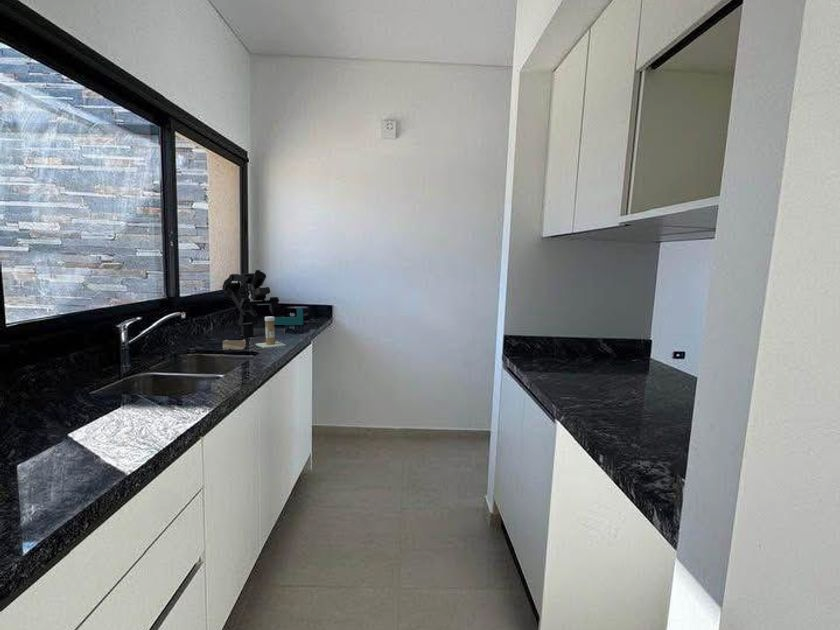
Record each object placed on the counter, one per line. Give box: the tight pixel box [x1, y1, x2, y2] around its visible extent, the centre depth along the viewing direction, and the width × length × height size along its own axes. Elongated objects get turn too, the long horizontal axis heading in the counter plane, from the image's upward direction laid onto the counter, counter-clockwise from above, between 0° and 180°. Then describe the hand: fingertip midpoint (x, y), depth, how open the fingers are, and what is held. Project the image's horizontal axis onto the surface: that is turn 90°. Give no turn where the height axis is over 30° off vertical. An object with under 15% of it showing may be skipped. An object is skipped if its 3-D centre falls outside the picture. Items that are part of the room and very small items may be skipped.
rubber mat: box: [255, 340, 287, 349], centre depth 224 cm, size 11×11×1 cm
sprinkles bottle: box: [264, 315, 276, 345], centre depth 224 cm, size 5×5×14 cm
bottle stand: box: [222, 339, 247, 351], centre depth 216 cm, size 6×9×4 cm, turn 101°
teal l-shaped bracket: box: [274, 308, 304, 326], centre depth 296 cm, size 18×11×10 cm, turn 106°
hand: (264, 315), depth 232 cm, fingers open, 9 cm apart
